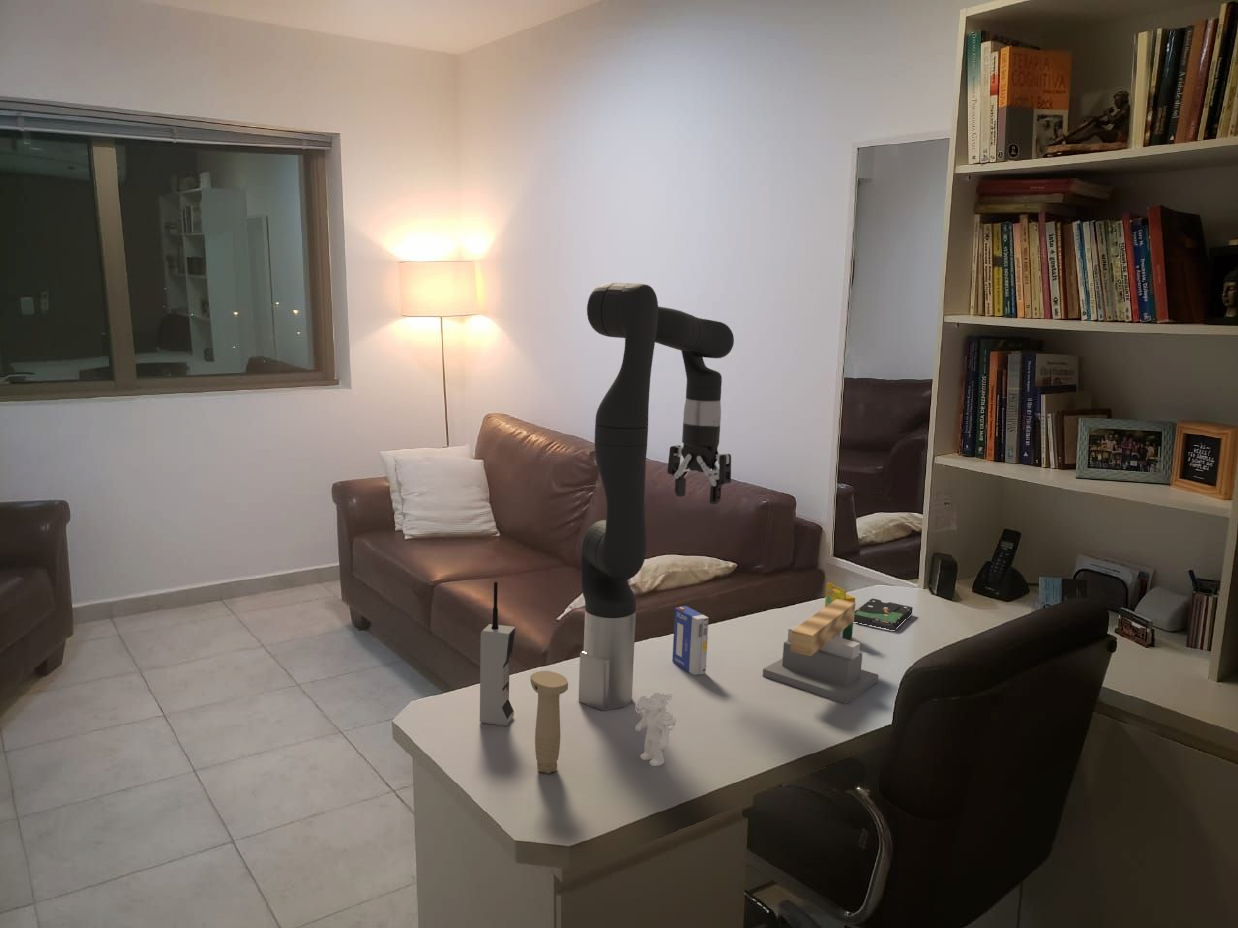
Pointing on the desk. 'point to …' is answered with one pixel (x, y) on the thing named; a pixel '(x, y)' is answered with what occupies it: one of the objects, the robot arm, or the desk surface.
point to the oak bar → (822, 627)
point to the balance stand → (824, 670)
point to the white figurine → (655, 726)
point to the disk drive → (882, 614)
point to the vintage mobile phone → (495, 670)
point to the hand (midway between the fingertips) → (697, 499)
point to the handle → (548, 718)
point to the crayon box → (840, 594)
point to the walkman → (690, 640)
